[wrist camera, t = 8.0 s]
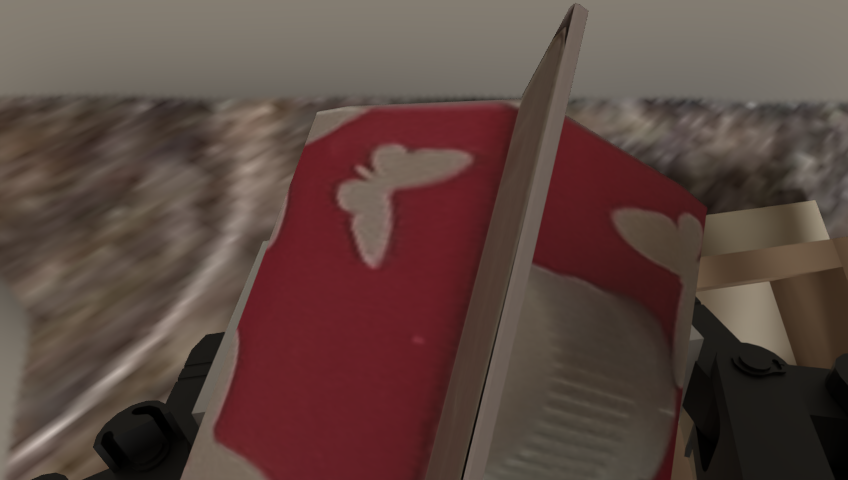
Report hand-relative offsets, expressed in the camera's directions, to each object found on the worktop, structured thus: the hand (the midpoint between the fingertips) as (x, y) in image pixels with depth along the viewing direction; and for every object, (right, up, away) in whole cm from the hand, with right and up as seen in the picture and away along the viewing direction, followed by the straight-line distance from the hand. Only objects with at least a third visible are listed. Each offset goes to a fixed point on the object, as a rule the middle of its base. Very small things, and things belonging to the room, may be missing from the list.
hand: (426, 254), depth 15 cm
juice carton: (+1, -6, +10) cm, 12 cm away
